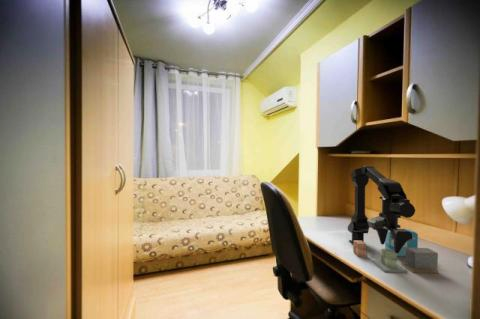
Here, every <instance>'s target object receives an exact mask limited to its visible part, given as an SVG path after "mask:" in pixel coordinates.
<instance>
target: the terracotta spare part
mask: <svg viewBox="0 0 480 319" xmlns="http://www.w3.org/2000/svg"><path fill="white" fill-rule="evenodd" d="M352 252H353V254H354V255H355V256H357V257H367V243H366V242H365V241H364V242H363V241H358V240H354V245H353V250H352Z"/></svg>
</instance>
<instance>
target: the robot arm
mask: <svg viewBox="0 0 480 319" xmlns="http://www.w3.org/2000/svg"><path fill="white" fill-rule="evenodd" d="M350 180H351V183H352V184H353V185H354V213H353V215H352V216H351V219H350V223H349V224H348V226H347V231H348V232H349V233H350V234H351V239H349V240H348V242H350V244H352V245H353V246H354V240H358V241H363V242H365V241H364V238H365V237H364V236H365V234H367V235H368V234H369V230H370V229H373V230H374V231H376V233H377V235H378V238H379V241H380V244H381V245H385V240H386V237H387V233H388V230H389V231H391V235H392V236H390V237H391V238H392V239H393V240H394V249H395V253H399V251H400V250H401V248H402V247H403V246H404V244H405V243H406V242H407V241H408V240H410V239H413V234H412V233H411V232H410V231H408V230H406V229H407V228H401V224H399V219H400V218H401V217H402V218H406V219H409V218H411V217H413V216H414V215H415V214H416V208H415V206H414V204H413V203H411V200H410V199H408V197H407V193H406V192H405V190H404V189H403V186H402V184H401V183H400V182H399V181H396V180H394V179H390V178H388V177H386V176H385V175H384V174H382V173H381V172H380V171H378V170H377V169H376V168H375V166H373V165H363V166H361V167H358V168H356V169H353V170H352V171H350ZM370 180H371V181H372V182H374V184H376V186H377V190H378V192H379V193H380V194H381V196H379V199H380V200H381V212H379V213H378V216H374V217H372V218H368V217H367V215H366V186H367V185H368V184H369V181H370ZM397 228H400V229H397Z"/></svg>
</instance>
